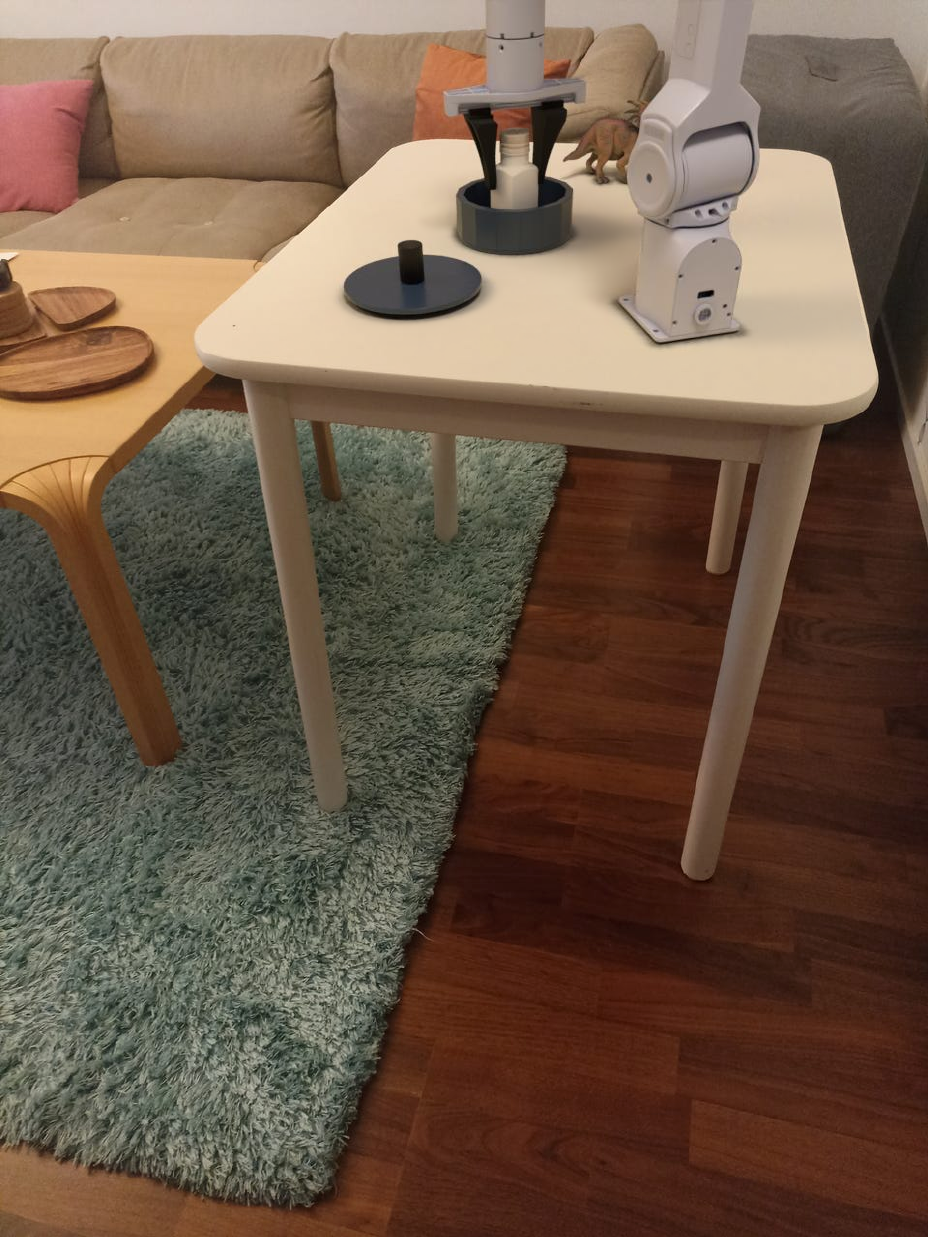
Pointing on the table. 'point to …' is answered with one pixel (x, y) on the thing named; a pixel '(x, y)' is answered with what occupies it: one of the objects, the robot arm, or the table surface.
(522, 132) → the salt shaker
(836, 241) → the table surface
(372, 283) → the lid
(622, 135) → the dinosaur figurine
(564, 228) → the pot
